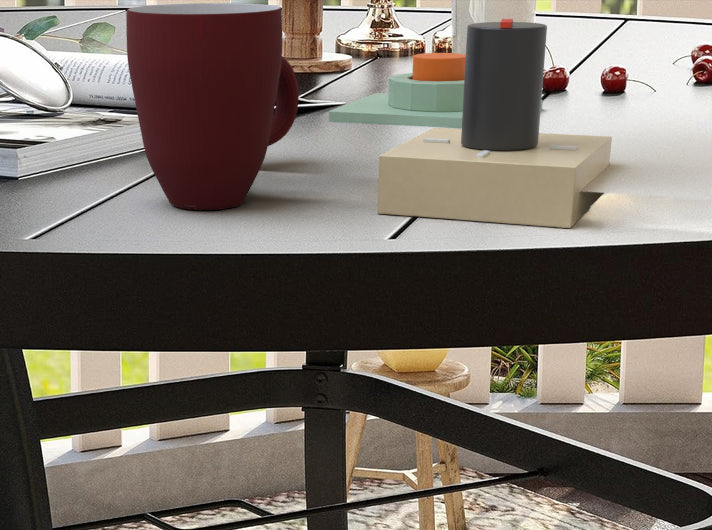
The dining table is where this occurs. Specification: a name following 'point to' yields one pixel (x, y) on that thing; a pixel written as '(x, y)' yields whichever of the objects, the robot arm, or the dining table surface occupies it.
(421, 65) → the button
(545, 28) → the dial
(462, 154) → the block
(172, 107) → the mug
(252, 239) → the dining table surface
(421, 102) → the kettle base
